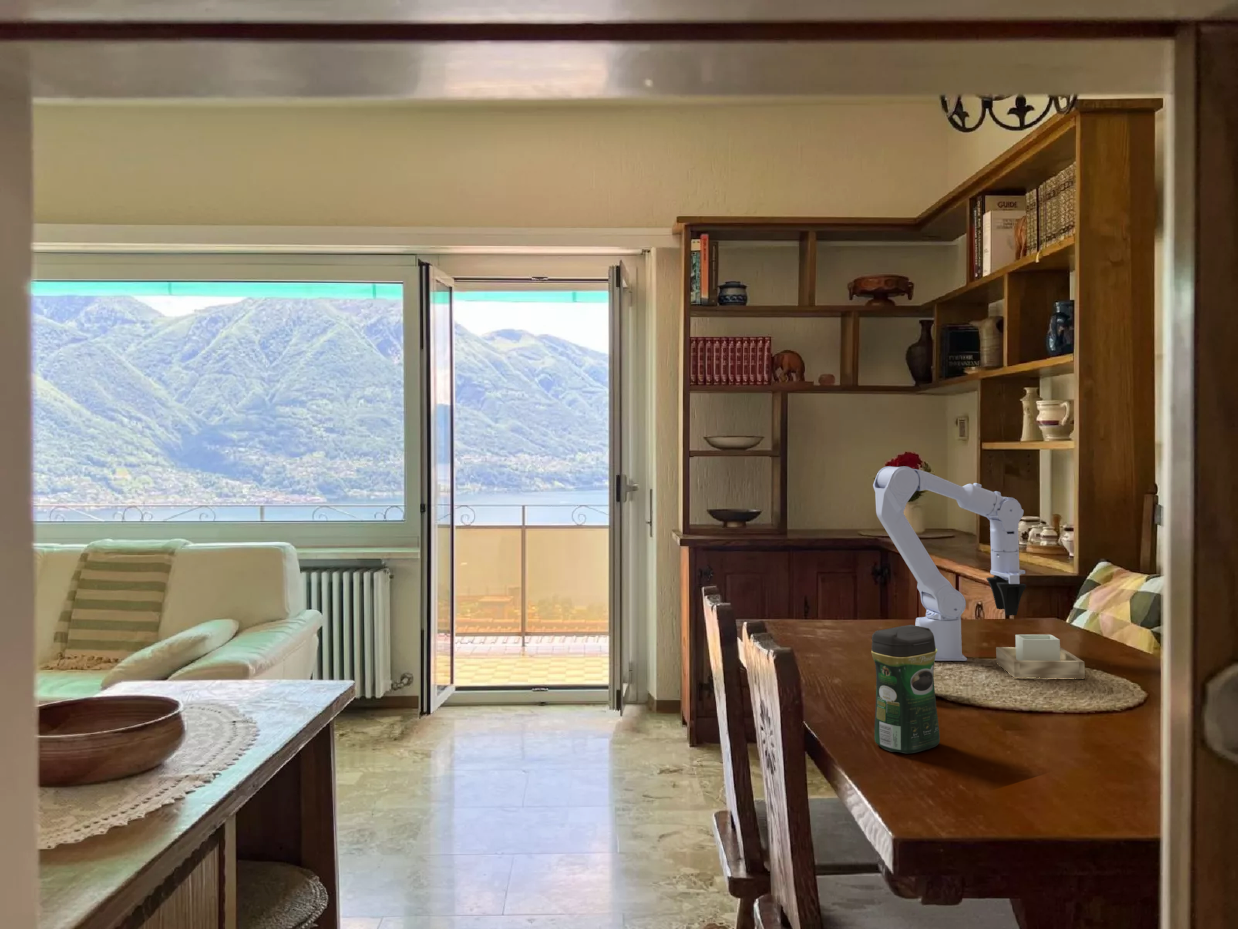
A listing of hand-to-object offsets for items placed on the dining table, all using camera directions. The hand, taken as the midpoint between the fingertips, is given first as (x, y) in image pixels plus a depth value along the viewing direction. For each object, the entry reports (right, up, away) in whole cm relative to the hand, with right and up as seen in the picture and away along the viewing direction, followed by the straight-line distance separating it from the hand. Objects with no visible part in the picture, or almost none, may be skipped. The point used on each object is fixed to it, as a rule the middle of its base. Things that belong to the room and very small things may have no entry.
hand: (1006, 612), depth 193 cm
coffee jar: (-41, -11, -58) cm, 72 cm away
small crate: (0, -9, -15) cm, 18 cm away
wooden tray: (0, -10, -15) cm, 18 cm away
